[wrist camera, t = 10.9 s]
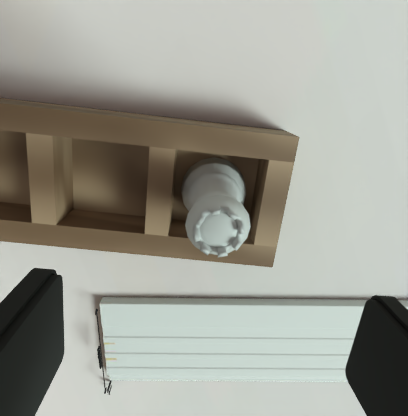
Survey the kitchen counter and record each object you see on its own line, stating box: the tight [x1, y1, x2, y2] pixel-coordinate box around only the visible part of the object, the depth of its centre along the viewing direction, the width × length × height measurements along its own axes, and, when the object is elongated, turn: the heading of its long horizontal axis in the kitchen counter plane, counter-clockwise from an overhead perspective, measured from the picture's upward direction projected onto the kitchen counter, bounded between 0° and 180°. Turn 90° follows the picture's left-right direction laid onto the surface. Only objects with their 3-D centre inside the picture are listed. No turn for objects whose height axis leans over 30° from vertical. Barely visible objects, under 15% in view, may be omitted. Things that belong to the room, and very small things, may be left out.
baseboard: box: [95, 297, 408, 394], centre depth 28 cm, size 30×3×10 cm
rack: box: [0, 98, 299, 267], centre depth 22 cm, size 9×23×4 cm, turn 83°
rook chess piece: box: [181, 157, 251, 257], centre depth 19 cm, size 4×4×8 cm
